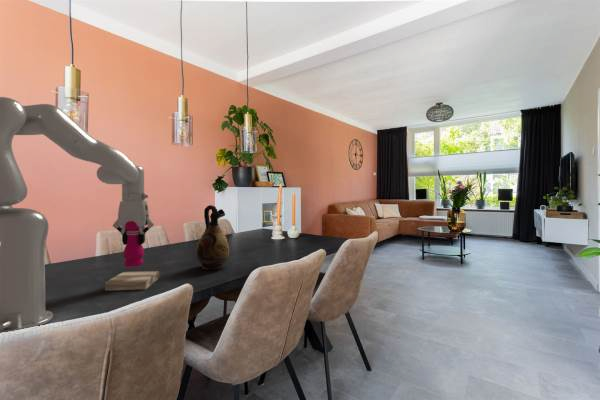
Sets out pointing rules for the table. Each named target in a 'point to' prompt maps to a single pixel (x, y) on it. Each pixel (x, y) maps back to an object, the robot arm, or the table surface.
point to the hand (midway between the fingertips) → (133, 243)
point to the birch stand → (132, 280)
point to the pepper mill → (133, 246)
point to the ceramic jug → (212, 242)
